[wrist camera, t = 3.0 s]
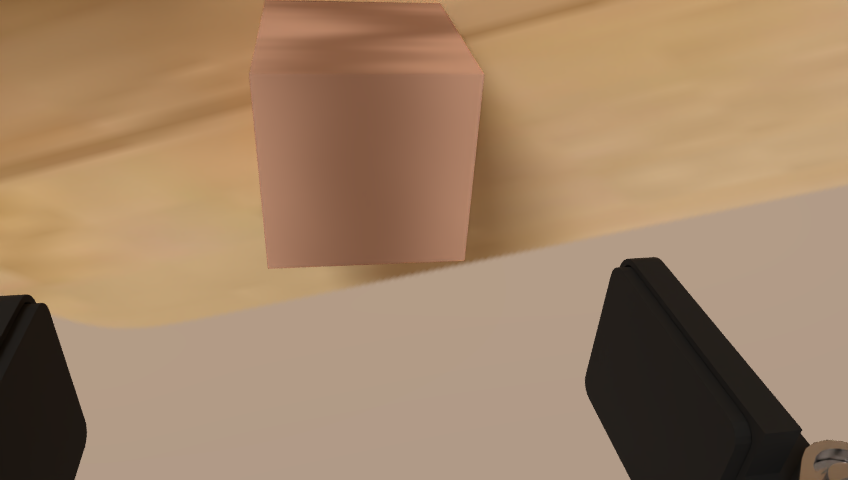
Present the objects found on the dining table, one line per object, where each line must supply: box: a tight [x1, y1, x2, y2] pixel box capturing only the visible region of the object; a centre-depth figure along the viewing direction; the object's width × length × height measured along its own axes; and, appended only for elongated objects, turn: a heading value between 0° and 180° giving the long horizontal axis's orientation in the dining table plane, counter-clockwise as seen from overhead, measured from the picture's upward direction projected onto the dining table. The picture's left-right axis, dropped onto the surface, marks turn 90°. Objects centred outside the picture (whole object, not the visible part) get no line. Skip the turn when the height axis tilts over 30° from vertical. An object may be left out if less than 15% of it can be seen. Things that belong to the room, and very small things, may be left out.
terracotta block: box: [249, 0, 484, 269], centre depth 18 cm, size 5×5×6 cm
